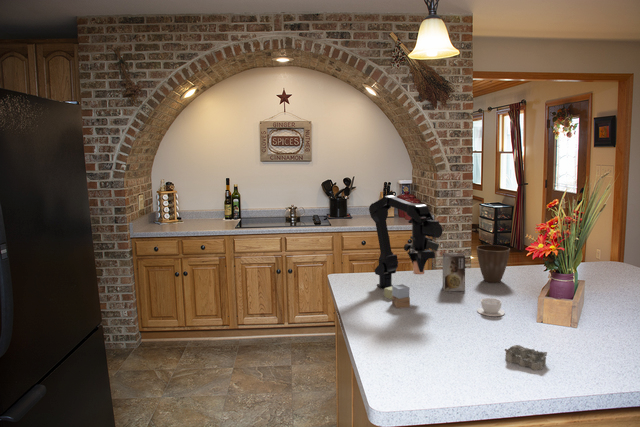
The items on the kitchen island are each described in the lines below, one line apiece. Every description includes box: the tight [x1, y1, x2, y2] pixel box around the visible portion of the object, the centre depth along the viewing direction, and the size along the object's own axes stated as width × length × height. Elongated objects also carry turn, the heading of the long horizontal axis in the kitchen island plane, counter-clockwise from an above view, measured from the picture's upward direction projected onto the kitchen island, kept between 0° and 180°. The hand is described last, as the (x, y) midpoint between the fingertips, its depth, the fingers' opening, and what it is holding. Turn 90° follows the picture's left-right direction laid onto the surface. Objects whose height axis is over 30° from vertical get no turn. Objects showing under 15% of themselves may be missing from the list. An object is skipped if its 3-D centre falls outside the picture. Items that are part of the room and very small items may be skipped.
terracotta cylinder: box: [412, 260, 425, 275], centre depth 195 cm, size 5×5×5 cm
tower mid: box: [392, 283, 410, 299], centre depth 187 cm, size 5×5×4 cm
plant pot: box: [476, 244, 511, 284], centre depth 218 cm, size 15×15×16 cm
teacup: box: [476, 297, 505, 317], centre depth 177 cm, size 10×10×5 cm
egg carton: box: [504, 344, 548, 371], centre depth 136 cm, size 11×8×4 cm
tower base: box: [391, 295, 411, 309], centre depth 187 cm, size 6×6×4 cm
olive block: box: [383, 287, 392, 300], centre depth 198 cm, size 4×4×4 cm
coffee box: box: [442, 252, 466, 292], centre depth 207 cm, size 9×6×16 cm
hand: (418, 270), depth 195 cm, fingers closed on terracotta cylinder, 5 cm apart
